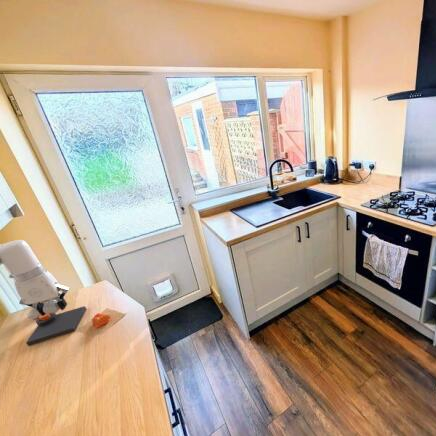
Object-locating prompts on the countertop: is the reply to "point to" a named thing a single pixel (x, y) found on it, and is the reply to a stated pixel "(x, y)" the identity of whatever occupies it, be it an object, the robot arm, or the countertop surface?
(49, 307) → the garlic
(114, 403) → the countertop surface
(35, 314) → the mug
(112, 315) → the shallow wooden dish
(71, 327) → the scale
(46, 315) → the tare button
